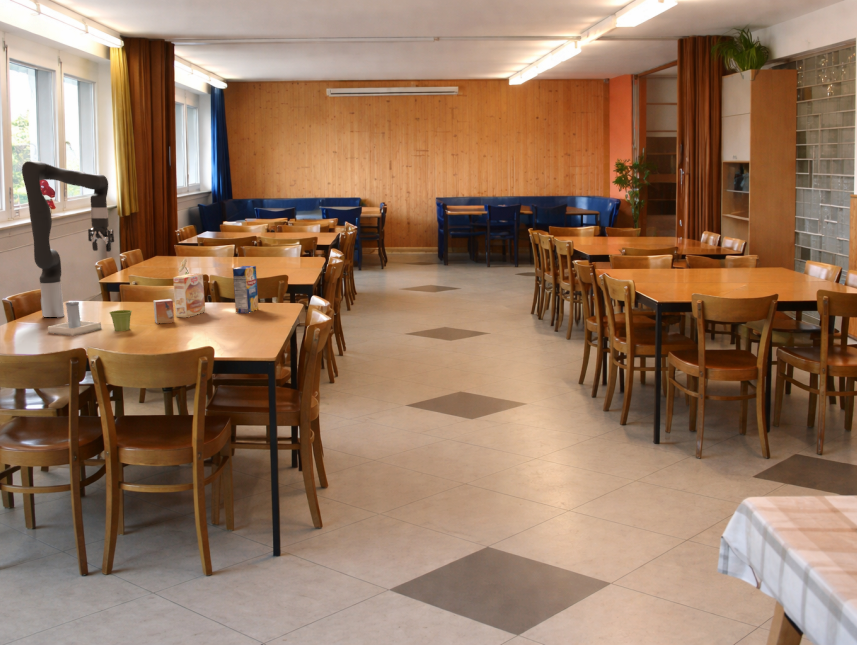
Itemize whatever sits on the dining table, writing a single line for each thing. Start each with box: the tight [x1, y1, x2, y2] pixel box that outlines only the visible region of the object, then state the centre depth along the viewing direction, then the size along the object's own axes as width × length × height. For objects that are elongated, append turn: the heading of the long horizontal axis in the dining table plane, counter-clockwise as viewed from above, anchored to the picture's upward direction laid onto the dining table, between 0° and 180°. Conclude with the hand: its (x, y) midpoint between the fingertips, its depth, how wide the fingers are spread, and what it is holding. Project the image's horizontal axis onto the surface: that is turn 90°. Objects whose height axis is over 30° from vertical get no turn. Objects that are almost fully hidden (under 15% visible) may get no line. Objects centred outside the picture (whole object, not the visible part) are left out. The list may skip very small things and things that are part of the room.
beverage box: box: [232, 265, 259, 314], centre depth 401 cm, size 7×11×22 cm, turn 165°
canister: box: [65, 301, 81, 328], centre depth 359 cm, size 5×5×12 cm
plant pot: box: [109, 309, 133, 332], centre depth 360 cm, size 9×9×9 cm
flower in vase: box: [177, 258, 190, 275], centre depth 421 cm, size 13×11×25 cm
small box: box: [153, 298, 175, 325], centre depth 378 cm, size 8×6×10 cm
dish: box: [47, 320, 102, 337], centre depth 359 cm, size 15×15×3 cm
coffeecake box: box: [172, 273, 206, 318], centre depth 395 cm, size 15×7×20 cm, turn 160°
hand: (102, 251), depth 388 cm, fingers open, 8 cm apart
